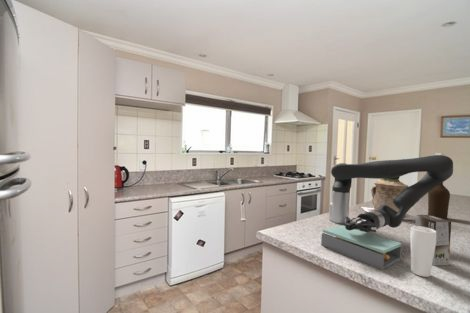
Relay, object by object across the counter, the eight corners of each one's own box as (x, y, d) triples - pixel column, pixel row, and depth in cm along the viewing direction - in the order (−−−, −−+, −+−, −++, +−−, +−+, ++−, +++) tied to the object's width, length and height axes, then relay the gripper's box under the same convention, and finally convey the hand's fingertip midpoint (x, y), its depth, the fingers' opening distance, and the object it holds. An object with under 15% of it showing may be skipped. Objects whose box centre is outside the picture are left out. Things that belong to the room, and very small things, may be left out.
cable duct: (321, 244, 101) (321, 233, 101) (341, 238, 109) (342, 227, 109) (382, 269, 81) (382, 255, 81) (401, 259, 89) (401, 246, 89)
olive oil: (439, 220, 146) (442, 179, 145) (422, 215, 156) (424, 177, 156) (453, 219, 148) (455, 179, 148) (435, 214, 159) (437, 177, 158)
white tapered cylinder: (435, 281, 75) (438, 234, 74) (409, 274, 78) (411, 229, 78) (431, 272, 81) (434, 228, 80) (407, 266, 84) (409, 224, 84)
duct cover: (322, 231, 101) (322, 229, 101) (341, 227, 109) (341, 225, 109) (383, 253, 81) (383, 250, 81) (401, 245, 89) (401, 243, 89)
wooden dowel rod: (334, 241, 103) (334, 236, 103) (337, 240, 104) (337, 235, 104) (387, 261, 85) (388, 255, 85) (390, 259, 87) (390, 254, 87)
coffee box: (450, 265, 86) (453, 221, 85) (433, 265, 85) (436, 221, 85) (427, 254, 95) (430, 214, 94) (412, 254, 94) (415, 214, 94)
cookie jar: (421, 221, 142) (425, 168, 141) (380, 219, 143) (383, 166, 142) (394, 210, 167) (397, 165, 166) (359, 209, 167) (361, 164, 166)
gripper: (355, 208, 105) (332, 213, 95) (388, 216, 94) (366, 222, 85) (354, 225, 105) (331, 231, 96) (387, 234, 95) (364, 243, 85)
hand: (347, 227), depth 90 cm, fingers closed
